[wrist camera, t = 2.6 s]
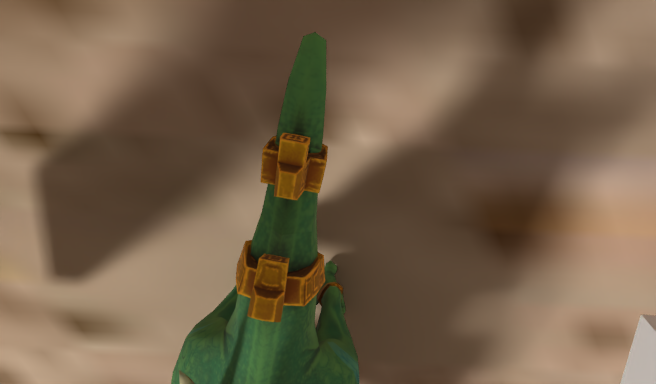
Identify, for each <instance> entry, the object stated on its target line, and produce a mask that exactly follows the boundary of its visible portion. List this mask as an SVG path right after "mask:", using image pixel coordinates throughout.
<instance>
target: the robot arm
mask: <svg viewBox="0 0 656 384" xmlns="http://www.w3.org/2000/svg"><path fill="white" fill-rule="evenodd" d="M620 384H656V316H654V315H641V316H640V320H639V323H638V326H637V330H636V333H635V336H634V340H633V343H632V346H631V350H630V353H629V357H628V360H627V363H626V367H625V370H624V373H623V377H622V380H621V383H620Z"/></svg>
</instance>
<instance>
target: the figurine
mask: <svg viewBox="0 0 656 384" xmlns="http://www.w3.org/2000/svg"><path fill="white" fill-rule="evenodd" d="M325 99H326V40H325V39H324V38H322V37H321V36H320V35H318V34H317V33H316V32H314V33H311V34H309V35H306V36H303V39H302V42H301V45H300V48H299V51H298V54H297V57H296V59H295V62H294V65H293V68H292V71H291V74H290V77H289V80H288V84H287V88H286V93H285V97H284V102H283V106H282V111H281V115H280V120H279V124H278V130H277V136H273V137H272V138H271V139H270V141H269V142H268V143H267V144H266V146H265V147H264V148H263V153H262V169H261V182H262V183H267V184H268V187H267V191H266V196H265V200H264V205H263V209H262V213H261V216H260V219H259V222H258V225H257V228H256V231H255V234H254V236H253V239H252V240H249V241H246V242H245V244H244V247H243V250H242V253H241V255H240V258H239V261H238V264H237V272H236V286H235V287H234V289H233V290H232V291H231V292H230V294H229V295H228V296H227V297H226V298H225V299H224V300H223V301H222V302H221V303H220V304H219V305H218V306H217V308H216V309H215V310H214V311H213V312H211V313H210V314H209V315H207V316H206V317H205V318H204V319H203V320H201V321H200V322H199V323H198V324H197V325H195V327H194V328H193V329H192V330H191V332H190V333H189V334H188V336H187V337H186V339H185V342H184V344H183V347H182V350H181V352H180V355H179V358H178V360H177V363H176V366H175V368H174V371H173V376H172V382H171V384H359V367H358V357H357V353H356V350H355V347H354V345H353V341H352V338H351V335H350V332H349V330H348V327H347V324H346V322H345V318H344V315H343V314H344V313H345V311H346V310H345V303H344V300H343V287H342V286H341V285H339V284H338V283H337V282H336V279H335V276H334V275H335V273H336V271H337V266H336V265H335V264H334V263H333V262H332V261H329V262H328V263H326V266H325V268H324V255H322V254H320V253H318V251H317V223H316V214H317V197H318V193H319V192H320V188H321V184H322V180H323V176H324V171H325V167H326V162H327V150H328V147H327V146H325V145H324V144H322V139H323V127H324V113H325ZM318 303H320V305H321V306H322V308H321V313H320V317H319V321H318V325H317V328H316V329H315V324H314V323H315V310H316V305H317V304H318Z"/></svg>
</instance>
